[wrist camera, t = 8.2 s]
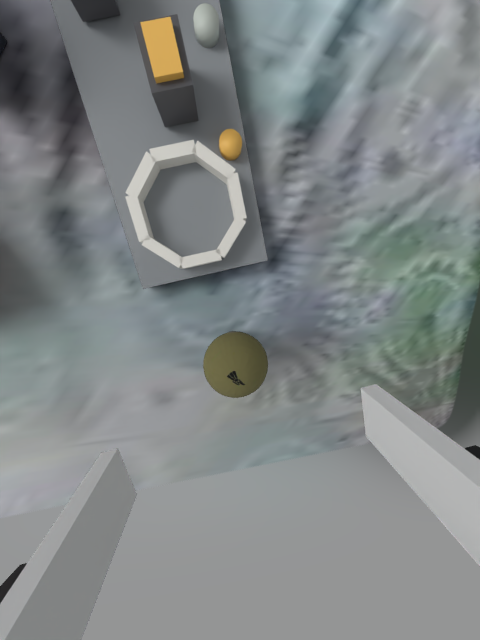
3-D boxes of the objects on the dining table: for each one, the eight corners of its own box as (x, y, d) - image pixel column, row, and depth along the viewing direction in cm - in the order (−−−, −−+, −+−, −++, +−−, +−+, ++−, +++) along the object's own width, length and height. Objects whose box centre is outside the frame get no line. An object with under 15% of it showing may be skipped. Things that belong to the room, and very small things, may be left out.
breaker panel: (149, 287, 24) (137, 290, 21) (42, -52, 18) (0, -128, 15) (264, 261, 25) (270, 259, 21) (199, -80, 18) (194, -161, 15)
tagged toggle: (165, 127, 19) (149, 87, 15) (151, 72, 18) (130, 14, 14) (198, 120, 19) (192, 79, 15) (186, 65, 19) (175, 5, 14)
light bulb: (201, 351, 26) (189, 398, 17) (219, 309, 25) (217, 332, 16) (244, 367, 27) (256, 421, 17) (262, 327, 26) (286, 359, 17)
